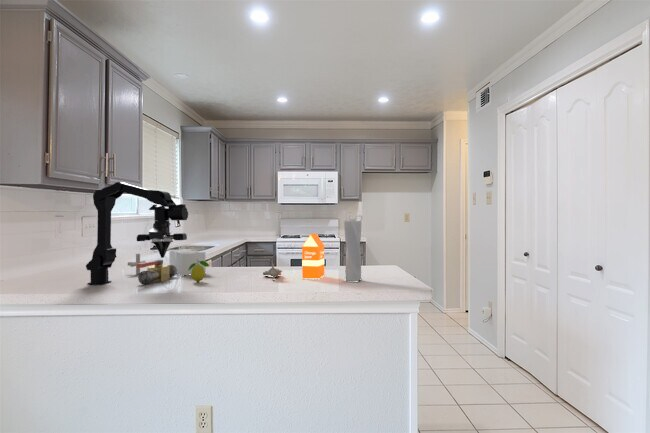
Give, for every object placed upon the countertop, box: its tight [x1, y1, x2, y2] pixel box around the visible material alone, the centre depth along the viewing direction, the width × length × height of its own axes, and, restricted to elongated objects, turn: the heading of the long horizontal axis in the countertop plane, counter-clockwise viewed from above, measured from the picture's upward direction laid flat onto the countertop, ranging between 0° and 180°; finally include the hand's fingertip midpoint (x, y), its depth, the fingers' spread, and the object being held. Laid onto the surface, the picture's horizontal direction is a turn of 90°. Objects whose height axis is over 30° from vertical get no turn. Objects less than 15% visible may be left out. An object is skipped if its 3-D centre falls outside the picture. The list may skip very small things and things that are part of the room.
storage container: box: [168, 248, 207, 277], centre depth 182 cm, size 25×11×11 cm, turn 37°
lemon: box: [189, 260, 210, 283], centre depth 152 cm, size 7×6×10 cm
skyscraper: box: [343, 214, 363, 283], centre depth 152 cm, size 8×8×28 cm
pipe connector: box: [127, 253, 147, 275], centre depth 177 cm, size 10×10×10 cm
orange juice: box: [301, 233, 325, 278], centre depth 160 cm, size 8×9×20 cm
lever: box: [137, 259, 164, 269], centre depth 152 cm, size 15×4×2 cm, turn 172°
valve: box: [262, 263, 283, 280], centre depth 160 cm, size 8×12×10 cm
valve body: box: [137, 263, 177, 286], centre depth 157 cm, size 20×6×7 cm, turn 174°
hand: (162, 257), depth 150 cm, fingers closed
